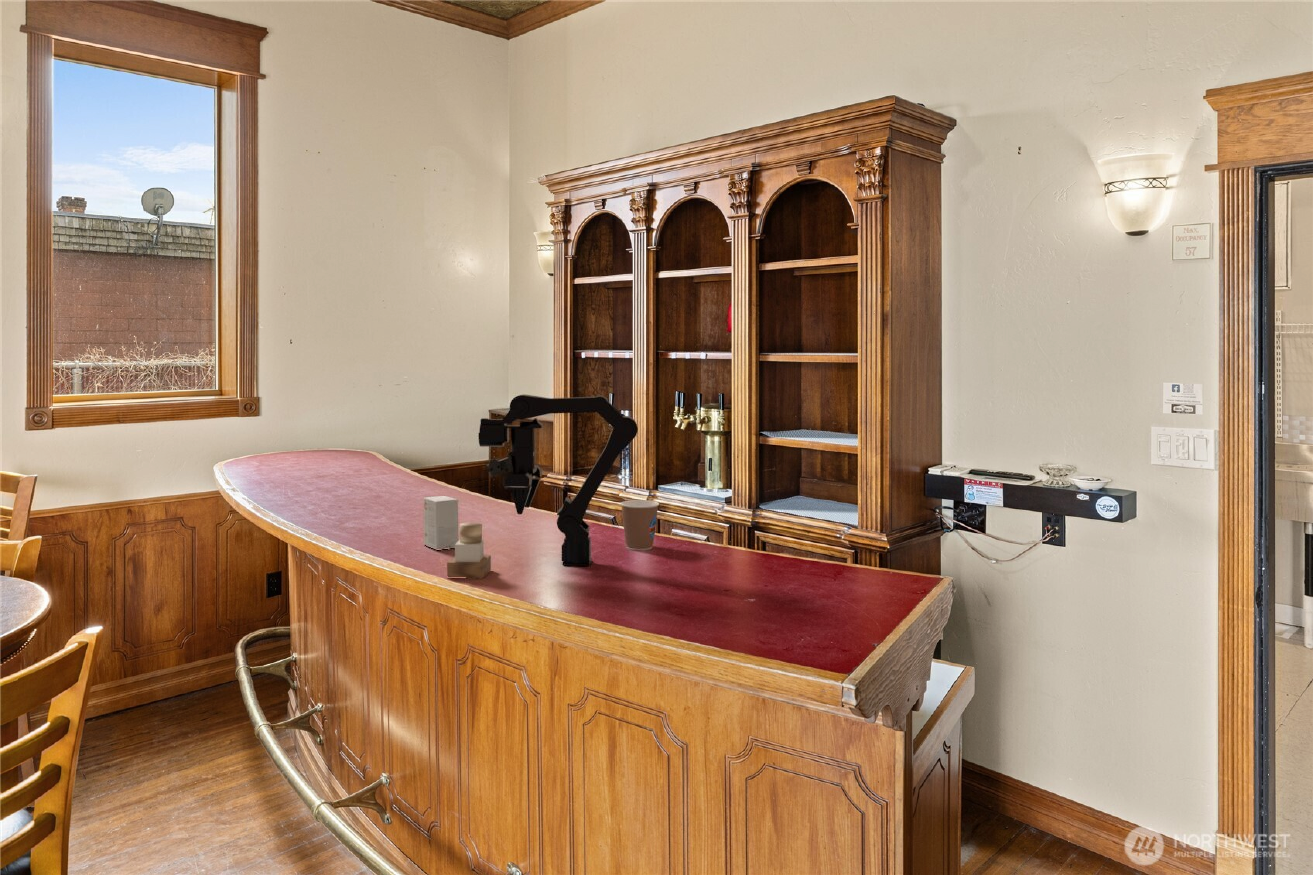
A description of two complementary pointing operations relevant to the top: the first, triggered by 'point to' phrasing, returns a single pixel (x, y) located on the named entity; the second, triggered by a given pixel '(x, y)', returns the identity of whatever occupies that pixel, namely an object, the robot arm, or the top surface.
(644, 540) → the coffee cup
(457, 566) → the walnut slab
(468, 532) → the birch puck
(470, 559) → the grey block
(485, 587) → the top surface
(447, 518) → the small box
